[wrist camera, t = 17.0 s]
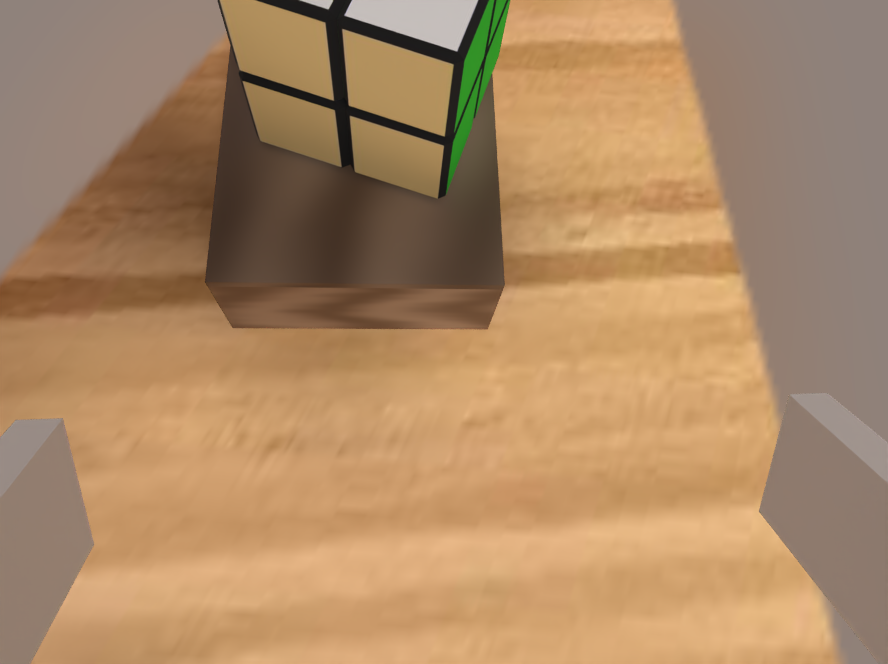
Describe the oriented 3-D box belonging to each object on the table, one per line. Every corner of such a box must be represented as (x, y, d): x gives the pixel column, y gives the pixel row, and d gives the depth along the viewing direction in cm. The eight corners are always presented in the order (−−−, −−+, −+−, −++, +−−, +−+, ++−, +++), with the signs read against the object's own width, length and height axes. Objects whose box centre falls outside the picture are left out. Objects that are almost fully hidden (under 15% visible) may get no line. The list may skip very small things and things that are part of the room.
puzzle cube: (328, 1, 38) (308, -190, 29) (499, 55, 38) (536, -120, 28) (254, 143, 34) (205, -22, 25) (443, 204, 34) (463, 60, 25)
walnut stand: (232, 327, 37) (205, 282, 32) (251, 114, 42) (230, 42, 36) (487, 329, 38) (504, 285, 33) (477, 121, 43) (491, 52, 38)
